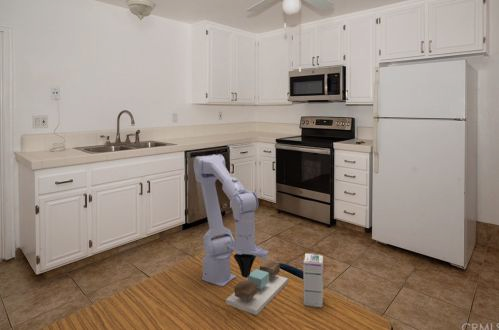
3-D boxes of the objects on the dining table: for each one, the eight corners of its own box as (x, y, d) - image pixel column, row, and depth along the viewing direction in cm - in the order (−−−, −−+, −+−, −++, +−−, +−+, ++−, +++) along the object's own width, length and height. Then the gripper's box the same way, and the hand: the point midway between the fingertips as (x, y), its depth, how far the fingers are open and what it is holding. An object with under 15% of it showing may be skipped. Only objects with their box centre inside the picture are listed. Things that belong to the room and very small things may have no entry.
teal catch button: (248, 284, 103) (247, 275, 103) (256, 277, 107) (255, 268, 107) (261, 288, 101) (261, 279, 100) (269, 281, 105) (269, 272, 104)
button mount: (226, 303, 99) (225, 293, 98) (260, 274, 116) (260, 265, 116) (256, 315, 93) (256, 304, 92) (287, 282, 110) (288, 273, 110)
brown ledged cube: (234, 296, 97) (234, 286, 96) (243, 288, 101) (243, 278, 101) (248, 300, 94) (248, 290, 94) (257, 292, 99) (257, 283, 98)
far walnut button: (259, 274, 110) (259, 265, 109) (266, 268, 114) (266, 260, 113) (272, 278, 107) (272, 269, 106) (279, 272, 111) (279, 263, 111)
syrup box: (322, 308, 96) (323, 262, 94) (302, 305, 97) (303, 260, 95) (322, 297, 101) (324, 254, 99) (304, 295, 103) (304, 252, 100)
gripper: (217, 232, 95) (218, 275, 97) (259, 242, 87) (259, 288, 90) (231, 225, 101) (232, 265, 103) (271, 234, 93) (271, 277, 96)
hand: (245, 275), depth 97 cm, fingers closed
